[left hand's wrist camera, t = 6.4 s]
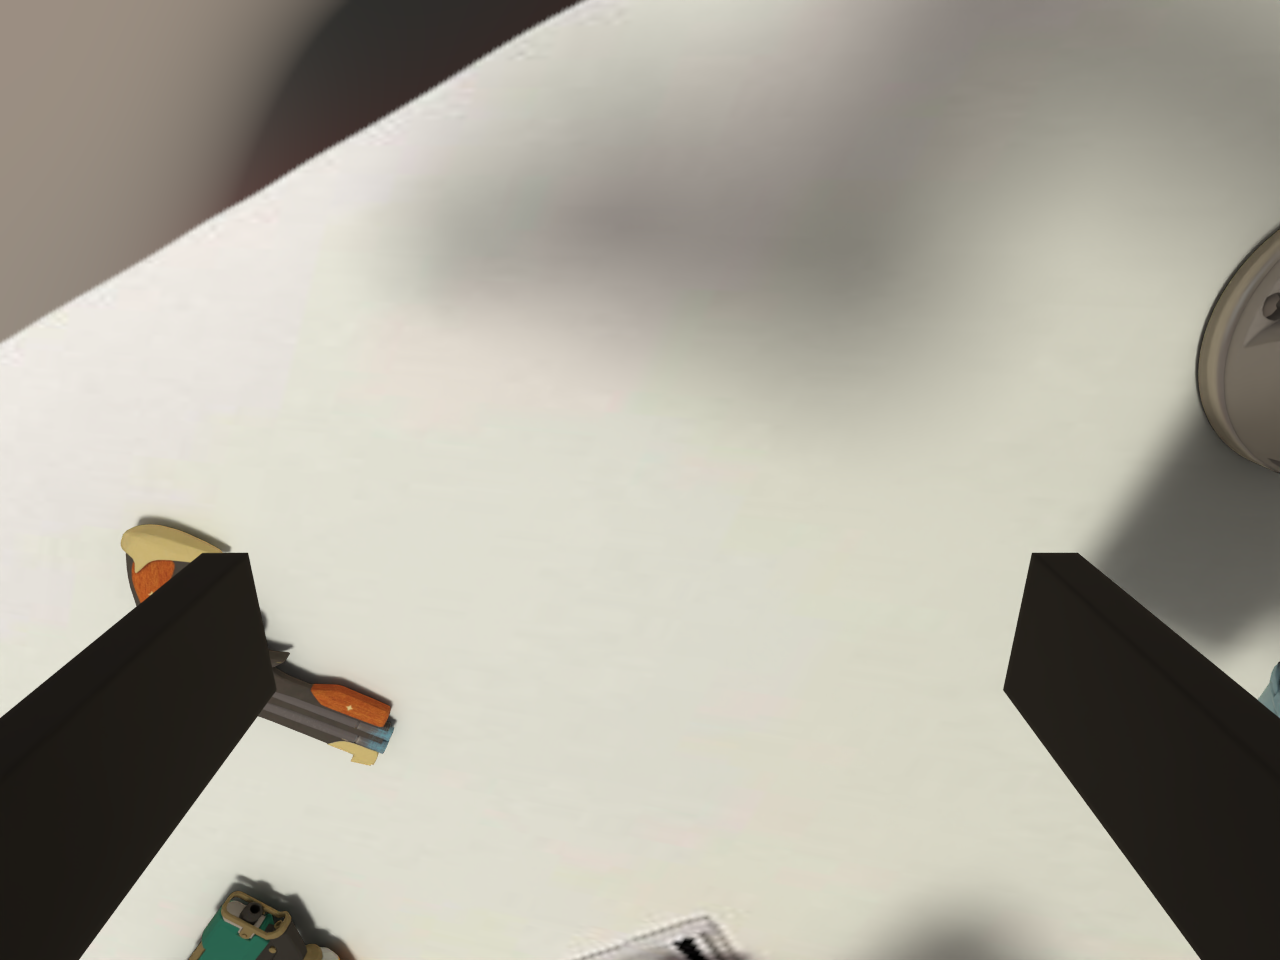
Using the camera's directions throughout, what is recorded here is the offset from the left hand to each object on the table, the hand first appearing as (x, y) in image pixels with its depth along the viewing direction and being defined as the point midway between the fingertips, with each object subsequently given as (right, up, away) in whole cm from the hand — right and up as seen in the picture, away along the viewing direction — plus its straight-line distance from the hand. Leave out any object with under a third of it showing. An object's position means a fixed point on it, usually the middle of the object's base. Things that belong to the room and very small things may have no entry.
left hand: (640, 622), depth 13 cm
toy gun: (-23, -8, +34) cm, 42 cm away
